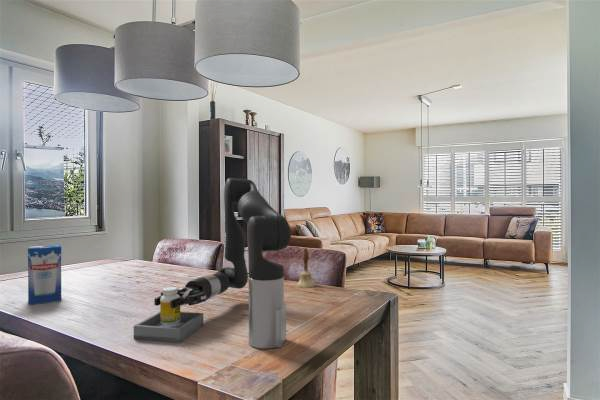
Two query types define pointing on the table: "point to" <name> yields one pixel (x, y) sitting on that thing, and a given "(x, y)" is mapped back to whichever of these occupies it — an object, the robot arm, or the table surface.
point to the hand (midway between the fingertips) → (163, 303)
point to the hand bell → (305, 273)
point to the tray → (168, 327)
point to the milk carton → (44, 274)
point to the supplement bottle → (169, 306)
